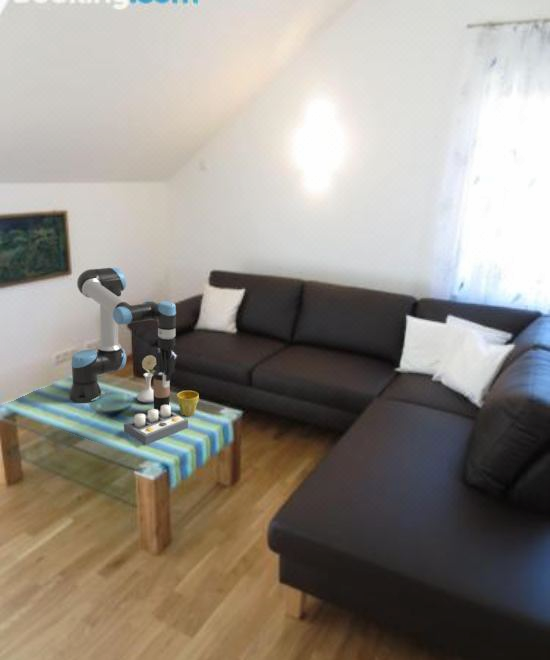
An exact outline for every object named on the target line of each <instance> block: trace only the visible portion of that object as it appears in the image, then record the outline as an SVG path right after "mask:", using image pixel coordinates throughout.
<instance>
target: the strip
mask: <svg viewBox="0 0 550 660" xmlns="http://www.w3.org/2000/svg"><path fill="white" fill-rule="evenodd" d="M179 416H180V415H179ZM179 416H177V417H174V418H172V419H169V420H166V421H164V422H161V423H158V424H156V425H153V426H150V427H148V428H145V429H142V430H140V431H141V432H142V433H144V434H149V433H152V432H154V431H157V430H159V429H162V428H165V427H167V426H170V425H172V424H175V423H178V422H180V421H183V420H185V419H186V418H185V419H183V418H184V417H183V418H181V417H182V416H181V417H179Z"/></svg>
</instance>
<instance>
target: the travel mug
mask: <svg viewBox="0 0 550 660" xmlns="http://www.w3.org/2000/svg"><path fill="white" fill-rule="evenodd" d="M170 386H171V385H170ZM170 386H169V387H166V388H164V387H163V379H162V372H161V370H159V369H158V370H155V372H154V375H153V390H154V391H153V398H154V402H153V409H157V410H158V411H161V406H162V405H170V397H171V395H170V394H171V392H170V391H171V390H170V389H171V387H170Z"/></svg>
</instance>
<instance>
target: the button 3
mask: <svg viewBox="0 0 550 660" xmlns="http://www.w3.org/2000/svg"><path fill="white" fill-rule="evenodd" d="M171 409H172V406H171V405H170V404H169V405H162V406H161V416H160V417H161V418H163V419H167V418H169V417H171V412H172V411H171Z"/></svg>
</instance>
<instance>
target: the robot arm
mask: <svg viewBox="0 0 550 660" xmlns="http://www.w3.org/2000/svg"><path fill="white" fill-rule="evenodd" d="M76 285H77V288H78V291H79V293H80V294H82V295H83V296H84V297H85V298H90V299H92V300H93V301H95V302H96V303H98V304H99V312H100V313H99V315H100V316H99V317H100V318H99V319H100V320H99V321H100V322H99V323H100V326H99V327H100V343H99V345H97V351H96V350H93V349H84V350H83V349H82V350H80V351H77V352H75V353H74V354H73V355H72V357H71V364H70V365H71V373H72V374H71V375H72V376H71V377H72V384H71V387H70V390H69V393H68V395H69V396H68V397H69V399H70V401H72V402H75V403H80V404H81V403H82V404H83V403H91V402H90V401H91V400H92V399H94V398H96V397H98V396H100V395H101V396H102V389H101V387H100V384H99V382H98V376H100V375H103V374H109V373H112V372H117V371H120V370H122V369H123V368H124V367H125V366H126V363H127V354H126V351H125V349H124V348H122V345H121V344H120V343H119V325H120V326H121V325H128V324H135V323H139V322H145V321H156V322H157V336H158V337H157V345H158V348H156V349H155V353H156V360H157V366H158V370H161V372H162V379H163V387H164V388H166V387H169V386H171V385H170V383H171V374H173V373H174V372H175V368H176V367H175V366H176V362H177V359H178V357H179V356H178V354H176V353H175V349H174V347H175V346H176V332H177V331H176V319H177V309H176V308H177V307H176V304H175V303H174V302H172V301H167V300H166V301H160V302H159V303H157V302H155V301H153V300H152V301H151V300H145V301H144V302H142V303H140V304H132V305H131V304H130V303H128V302H127V301H126V300H123V298H121V297H122V292H123V291H124V290H125V289H126V288H127V280H126V277H125V275H124V273H123V271H122V270H121V269H120V268H118V267H104V268H91V269H87V270H84V271H83V272H82V273H80V275H79V276H78V278H77V283H76Z"/></svg>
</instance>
